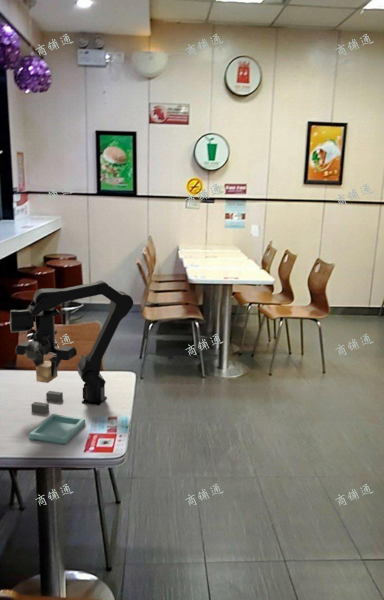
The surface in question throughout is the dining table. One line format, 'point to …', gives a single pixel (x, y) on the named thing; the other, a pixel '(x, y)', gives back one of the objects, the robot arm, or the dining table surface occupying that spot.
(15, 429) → the dining table surface
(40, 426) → the teal tray
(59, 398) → the pair of grey blocks
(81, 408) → the dining table surface
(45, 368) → the wooden block
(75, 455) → the dining table surface
